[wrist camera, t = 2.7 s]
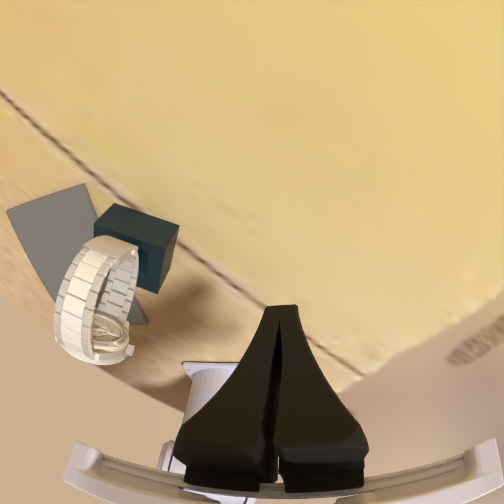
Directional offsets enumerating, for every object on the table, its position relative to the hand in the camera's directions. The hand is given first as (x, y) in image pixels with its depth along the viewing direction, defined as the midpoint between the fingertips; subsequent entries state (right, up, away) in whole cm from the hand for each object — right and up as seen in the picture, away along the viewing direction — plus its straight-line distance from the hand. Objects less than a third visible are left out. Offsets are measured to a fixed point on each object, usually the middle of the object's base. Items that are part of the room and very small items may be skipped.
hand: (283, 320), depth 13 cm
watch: (-10, +4, +9) cm, 14 cm away
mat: (-19, +2, +12) cm, 22 cm away
